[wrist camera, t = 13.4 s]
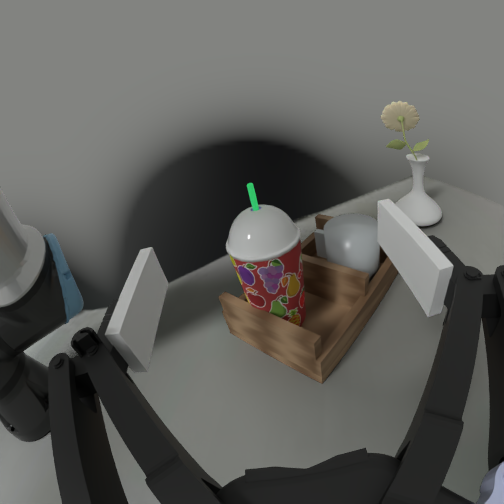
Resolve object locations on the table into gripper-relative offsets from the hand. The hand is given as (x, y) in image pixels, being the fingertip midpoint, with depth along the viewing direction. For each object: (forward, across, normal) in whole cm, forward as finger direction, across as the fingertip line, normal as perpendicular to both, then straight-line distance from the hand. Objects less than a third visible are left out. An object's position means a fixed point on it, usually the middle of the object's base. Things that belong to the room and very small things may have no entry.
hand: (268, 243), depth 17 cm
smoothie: (+14, 0, -22) cm, 26 cm away
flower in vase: (+36, +32, -23) cm, 53 cm away
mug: (+21, +11, -22) cm, 32 cm away
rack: (+18, +6, -23) cm, 30 cm away
